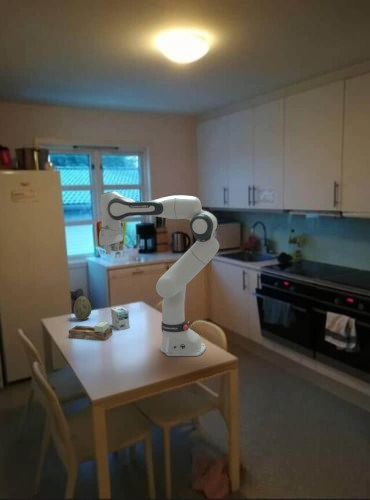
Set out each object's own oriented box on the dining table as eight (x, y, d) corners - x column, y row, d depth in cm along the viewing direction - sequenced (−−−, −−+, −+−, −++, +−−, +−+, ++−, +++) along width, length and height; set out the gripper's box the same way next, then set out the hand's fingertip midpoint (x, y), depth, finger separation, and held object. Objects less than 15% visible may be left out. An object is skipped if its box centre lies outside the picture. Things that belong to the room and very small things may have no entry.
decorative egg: (84, 323, 232) (82, 299, 230) (70, 321, 237) (68, 297, 235) (95, 317, 242) (94, 294, 240) (82, 315, 247) (80, 293, 244)
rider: (109, 331, 211) (108, 322, 210) (103, 335, 205) (102, 326, 204) (101, 330, 213) (100, 321, 212) (94, 335, 206) (94, 326, 205)
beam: (112, 334, 212) (112, 327, 211) (105, 340, 204) (105, 333, 203) (76, 332, 217) (76, 325, 217) (69, 337, 210) (68, 330, 209)
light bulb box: (129, 328, 222) (128, 310, 220) (119, 330, 218) (118, 312, 216) (122, 323, 231) (121, 305, 229) (111, 325, 227) (110, 307, 225)
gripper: (107, 226, 179) (108, 256, 181) (125, 223, 198) (126, 249, 201) (94, 226, 181) (96, 255, 183) (113, 223, 200) (115, 249, 202)
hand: (112, 252), depth 192 cm, fingers open, 8 cm apart
